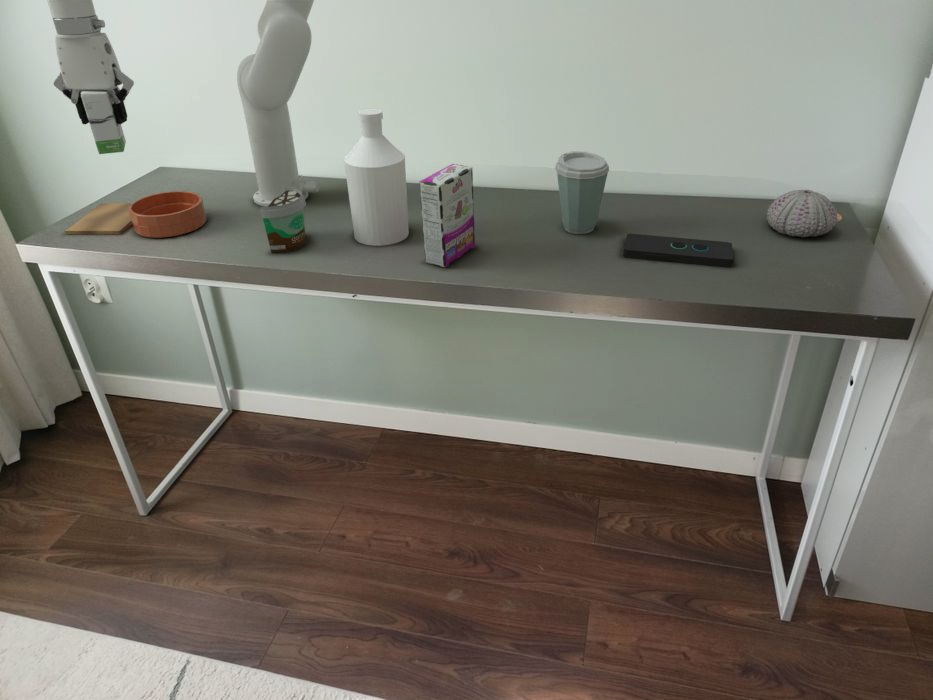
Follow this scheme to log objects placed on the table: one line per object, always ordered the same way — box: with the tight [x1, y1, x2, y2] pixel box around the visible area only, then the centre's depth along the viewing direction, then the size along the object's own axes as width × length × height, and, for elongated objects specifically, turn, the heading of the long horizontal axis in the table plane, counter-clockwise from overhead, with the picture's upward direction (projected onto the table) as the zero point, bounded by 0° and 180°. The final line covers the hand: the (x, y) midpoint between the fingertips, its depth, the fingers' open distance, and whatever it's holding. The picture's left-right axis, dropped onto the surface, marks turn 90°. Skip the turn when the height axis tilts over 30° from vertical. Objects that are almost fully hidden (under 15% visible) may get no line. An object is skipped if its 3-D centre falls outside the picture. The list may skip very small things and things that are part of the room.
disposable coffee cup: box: [554, 151, 610, 235], centre depth 142 cm, size 11×11×15 cm
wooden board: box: [64, 202, 133, 235], centre depth 155 cm, size 12×16×1 cm
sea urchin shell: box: [766, 189, 838, 238], centre depth 141 cm, size 13×14×8 cm
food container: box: [259, 187, 307, 254], centre depth 140 cm, size 12×6×10 cm, turn 168°
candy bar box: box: [418, 163, 476, 268], centre depth 132 cm, size 11×5×16 cm, turn 148°
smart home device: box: [622, 233, 734, 268], centre depth 134 cm, size 8×2×20 cm
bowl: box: [128, 190, 208, 239], centre depth 151 cm, size 15×15×5 cm
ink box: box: [80, 90, 127, 155], centre depth 142 cm, size 9×5×12 cm, turn 20°
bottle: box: [343, 108, 410, 247], centre depth 139 cm, size 12×12×25 cm
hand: (104, 121), depth 142 cm, fingers closed on ink box, 6 cm apart
